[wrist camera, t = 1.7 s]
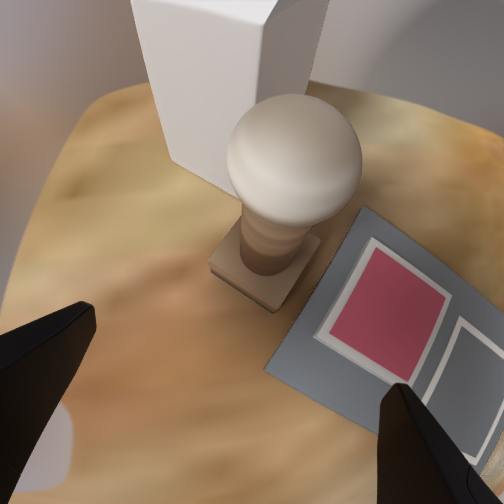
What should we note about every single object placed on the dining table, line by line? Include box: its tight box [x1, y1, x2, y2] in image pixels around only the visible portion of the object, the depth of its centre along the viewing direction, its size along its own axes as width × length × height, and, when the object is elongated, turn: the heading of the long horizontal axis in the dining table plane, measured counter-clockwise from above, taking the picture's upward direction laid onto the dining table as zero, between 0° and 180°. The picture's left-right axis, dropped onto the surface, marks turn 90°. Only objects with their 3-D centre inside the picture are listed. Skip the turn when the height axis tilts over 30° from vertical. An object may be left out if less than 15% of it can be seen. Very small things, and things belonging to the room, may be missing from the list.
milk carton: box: [131, 0, 329, 200], centre depth 16 cm, size 7×7×19 cm
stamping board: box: [263, 205, 504, 475], centre depth 19 cm, size 14×23×2 cm, turn 56°
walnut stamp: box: [208, 94, 362, 313], centre depth 15 cm, size 5×5×15 cm
